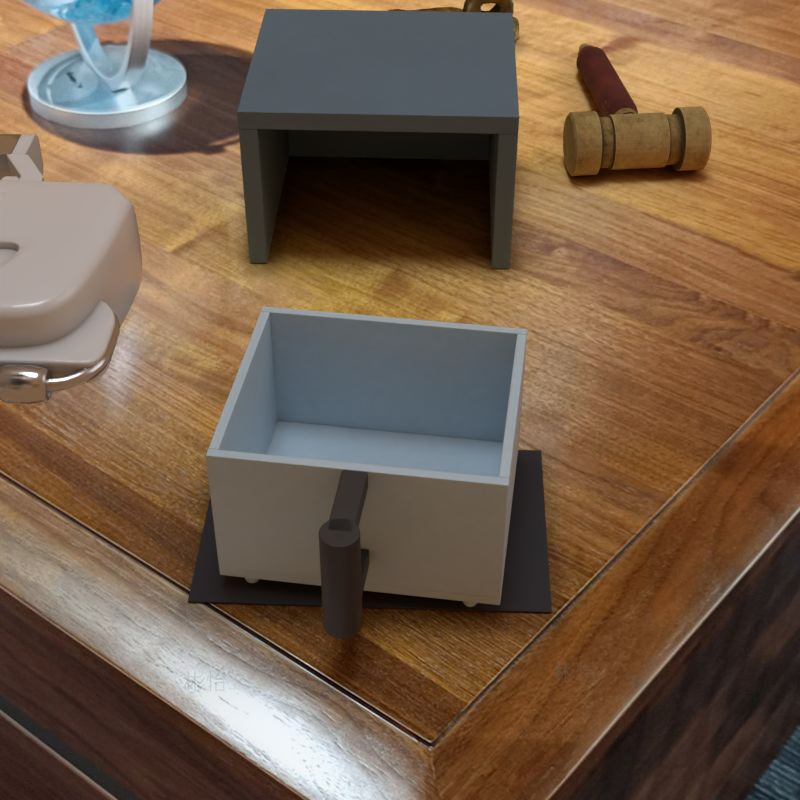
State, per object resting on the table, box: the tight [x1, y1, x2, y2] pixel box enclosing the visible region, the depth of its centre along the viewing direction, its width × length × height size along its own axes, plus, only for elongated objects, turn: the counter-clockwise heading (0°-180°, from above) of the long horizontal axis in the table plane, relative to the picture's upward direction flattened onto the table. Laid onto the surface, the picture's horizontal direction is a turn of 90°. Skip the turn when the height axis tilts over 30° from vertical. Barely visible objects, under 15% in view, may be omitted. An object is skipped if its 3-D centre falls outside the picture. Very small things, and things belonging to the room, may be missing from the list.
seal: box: [386, 0, 520, 42], centre depth 116 cm, size 9×5×15 cm
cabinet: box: [236, 8, 520, 270], centre depth 93 cm, size 17×16×11 cm
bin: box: [205, 305, 528, 640], centre depth 67 cm, size 14×17×9 cm
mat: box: [187, 449, 552, 614], centre depth 72 cm, size 18×12×1 cm, turn 88°
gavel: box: [562, 42, 713, 177], centre depth 106 cm, size 21×5×10 cm
